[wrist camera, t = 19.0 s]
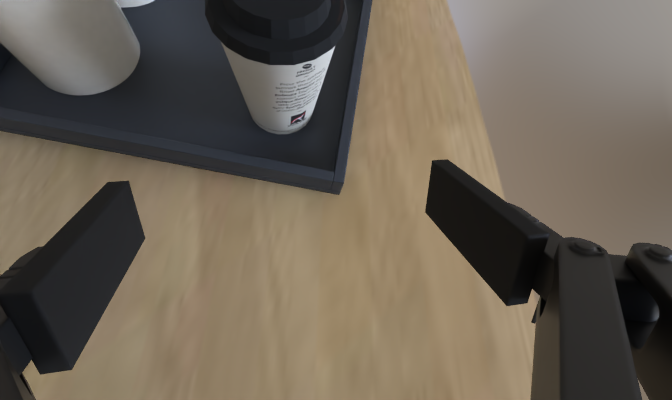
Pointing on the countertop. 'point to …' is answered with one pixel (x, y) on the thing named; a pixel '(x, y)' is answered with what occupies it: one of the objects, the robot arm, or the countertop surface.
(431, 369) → the countertop surface
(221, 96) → the cup tray
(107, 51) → the cream cup
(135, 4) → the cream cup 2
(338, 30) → the coffee cup
